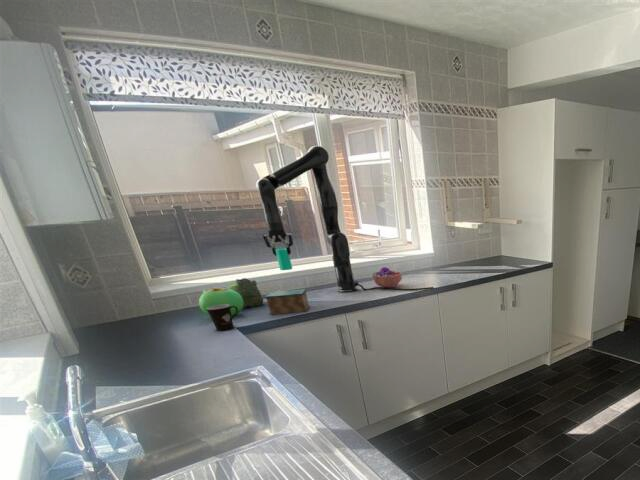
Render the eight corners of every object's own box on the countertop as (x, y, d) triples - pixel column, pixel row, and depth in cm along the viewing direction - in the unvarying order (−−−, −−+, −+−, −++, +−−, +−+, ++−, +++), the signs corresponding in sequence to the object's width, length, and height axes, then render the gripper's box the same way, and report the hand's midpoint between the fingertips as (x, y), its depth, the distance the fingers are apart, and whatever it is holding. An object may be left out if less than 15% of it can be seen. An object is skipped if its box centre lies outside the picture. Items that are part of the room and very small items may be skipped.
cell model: (377, 292, 245) (373, 272, 240) (372, 285, 261) (369, 267, 256) (406, 288, 251) (403, 269, 246) (399, 282, 267) (397, 264, 262)
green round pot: (200, 323, 197) (189, 292, 190) (209, 314, 211) (199, 285, 204) (244, 318, 202) (234, 288, 196) (250, 309, 217) (241, 281, 210)
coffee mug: (215, 333, 183) (208, 310, 178) (212, 328, 189) (204, 307, 184) (245, 327, 189) (239, 305, 185) (241, 323, 195) (235, 302, 191)
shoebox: (310, 306, 220) (305, 289, 216) (306, 311, 211) (301, 293, 207) (275, 309, 216) (270, 291, 213) (270, 314, 207) (265, 296, 203)
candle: (284, 270, 225) (278, 247, 220) (278, 269, 228) (271, 246, 223) (294, 268, 229) (289, 245, 224) (288, 267, 232) (282, 245, 227)
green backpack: (223, 306, 222) (214, 278, 215) (264, 302, 230) (257, 275, 222) (221, 313, 214) (211, 284, 206) (264, 309, 221) (256, 281, 214)
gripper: (290, 220, 223) (298, 253, 230) (261, 221, 220) (270, 254, 227) (287, 221, 216) (295, 255, 224) (256, 222, 213) (266, 256, 221)
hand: (282, 254), depth 225 cm, fingers closed on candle, 6 cm apart
